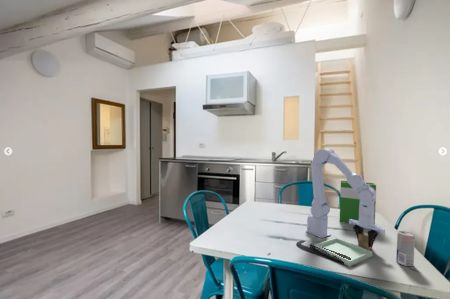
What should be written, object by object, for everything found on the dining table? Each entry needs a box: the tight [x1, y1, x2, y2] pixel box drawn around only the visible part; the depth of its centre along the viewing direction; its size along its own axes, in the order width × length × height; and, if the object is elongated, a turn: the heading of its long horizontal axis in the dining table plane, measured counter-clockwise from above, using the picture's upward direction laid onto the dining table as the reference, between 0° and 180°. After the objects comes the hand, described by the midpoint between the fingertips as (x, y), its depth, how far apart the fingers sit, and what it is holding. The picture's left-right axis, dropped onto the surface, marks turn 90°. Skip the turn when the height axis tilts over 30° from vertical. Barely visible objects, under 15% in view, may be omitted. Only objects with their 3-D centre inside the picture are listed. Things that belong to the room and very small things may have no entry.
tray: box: [313, 237, 373, 268], centre depth 97 cm, size 16×16×2 cm
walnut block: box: [357, 231, 373, 251], centre depth 102 cm, size 4×4×6 cm
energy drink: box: [396, 230, 416, 267], centre depth 89 cm, size 5×5×12 cm
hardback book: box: [339, 180, 377, 225], centre depth 135 cm, size 18×7×24 cm, turn 63°
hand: (365, 244), depth 102 cm, fingers closed on walnut block, 4 cm apart
